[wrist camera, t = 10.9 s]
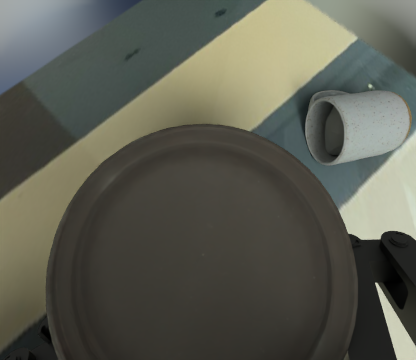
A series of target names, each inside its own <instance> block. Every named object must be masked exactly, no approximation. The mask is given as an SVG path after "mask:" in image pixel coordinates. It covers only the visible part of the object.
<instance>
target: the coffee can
mask: <svg viewBox="0 0 416 360" xmlns="http://www.w3.org/2000/svg"><path fill="white" fill-rule="evenodd" d="M357 304H358V277H357V270H356V263H355V258H354V253H353V249H352V245H351V242H350V238H349V235H348V232H347V229H346V227H345V224H344V222H343V219H342V217H341V215H340V213H339V211H338V208H337V207H336V205H335V203H334V201H333V200H332V198H331V196H330V194H329V193H328V192H327V190H326V189H325V188H324V186H323V185H322V183H321V182H320V181H319V180H318V178H317V177H316V176H315V175H314V174H313V173H312V172H311V171H310V170H309V169H308V168H307V167H306V166H305V165H304V164H302V163H301V162H300V161H299V160H298V159H297V158H296V157H294V156H293V155H292V154H290V153H289V152H288V151H286V150H285V149H283V148H281V147H280V146H278V145H277V144H275V143H273V142H271V141H269V140H267V139H266V138H264V137H261V136H259V135H257V134H254V133H252V132H249V131H246V130H242V129H238V128H235V127H230V126H223V125H212V124H195V125H183V126H178V127H171V128H167V129H163V130H160V131H157V132H154V133H151V134H149V135H146V136H144V137H141V138H139V139H137V140H135V141H133V142H131V143H129V144H128V145H126V146H125V147H123V148H122V149H120V150H119V151H117V152H116V153H115V154H113V155H112V156H110V157H109V158H108V159H106V160H105V161H104V162H103V163H102V164H101V165H100V166H99V167H98V168H97V169H96V170H95V171H94V172H93V173H92V174H91V175H90V176H89V177H88V178H87V179H86V181H85V182H84V183H83V185H82V186H81V187H80V188H79V190H78V191H77V193H76V194H75V196H74V197H73V199H72V200H71V202H70V203H69V205H68V207H67V209H66V211H65V213H64V215H63V217H62V219H61V221H60V224H59V226H58V229H57V231H56V234H55V237H54V241H53V245H52V248H51V252H50V257H49V261H48V267H47V277H46V310H47V317H48V325H49V330H50V334H51V339H52V343H53V346H54V349H55V352H56V354H57V357H58V360H344V358H345V355H346V353H347V350H348V347H349V344H350V341H351V337H352V334H353V330H354V327H355V320H356V312H357Z"/></svg>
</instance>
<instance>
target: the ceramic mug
mask: <svg viewBox="0 0 416 360" xmlns="http://www.w3.org/2000/svg"><path fill="white" fill-rule="evenodd" d="M308 110H309V111H308V113H307V116H306V123H305V136H306V141H307V145H308V148H309V150H310V152H311V154H312V156H313V157H314V158H315V159H316V160H317V161H318V162H319V163H321V164H323V165H335V164H339V163H344V162H349V161H353V160H358V159H362V158H366V157H372V156H377V155H381V154H384V153H386V152H389V151H391V150H393V149H395V148H397V147H398V146H399V145H401V144H402V143H403V142H404V140H405V139H406V138H407V136H408V134H409V131H410V127H411V120H412V116H411V111H410V108H409V106H408V104H407V103H406V101H405V100H404V99H403V98H402V97H401V96H400V95H398V94H396V93H394V92H389V91H368V92H362V93H355V94H349V93H346V92H342V91H335V90H329V91H321V92H318V93H315V94H314V95H313V96H312V98H311V101H310V104H309V108H308Z"/></svg>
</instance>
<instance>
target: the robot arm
mask: <svg viewBox="0 0 416 360" xmlns="http://www.w3.org/2000/svg"><path fill="white" fill-rule="evenodd" d="M348 235H349V238H350V242H351V245H352V249H353V253H354V258H355V263H356V270H357V277H358V304H357V312H356V320H355V327H354V330H353V334H352V337H351V341H350V344H349V347H348V350H347V353H346V355H345V358H344V360H397V358H396V355H395V351H394V348H393V344H392V341H391V337H390V334H389V330H388V327H387V323H386V320H385V316H384V313H383V309H382V306H381V302H380V299H379V295H378V292H377V288H376V285H375V282H377V283H378V284H379V286H380V288H381V289H382V291H383V293H384V294H385V296H386V298H387V299H388V301H389V303H390V304H391V306H392V308H393V309H394V311H395V313H396V314H397V316H398V318H399V319H400V321H401V323H402V324H403V326H404V327H405V329H406V331H407V332H408V334H409V336H410V337H411V339H412V341H413V342H414V344H415V346H416V240H415V239H413V238H412V237H411V236H409V235H407V234H405V233H402V232H398V231H388V232H385V233H383V234H382V236H381V239H379V240H361V239H359V238H358V237H357V236H354V235H352V234H348ZM38 335H39V336H40V337H41V338H42V339H43V340H44V341H45V342H44V343H43V344H41V345H40V346H38V347H36V348H35V349H33V350H31V351H29V350H28V349H27V348H23V347H21V348H18V349H16V350H14V351H13V352H11V353H10V354H8V355H7V356H6V357H5V358H4V359H3V360H58V357H57V354H56V352H55V349H54V346H53V343H52V339H51V334H50V330H49V325H48V317H46V318H45V319H44V320H43V321H42V323H41V325H40V326H39V328H38Z"/></svg>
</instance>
